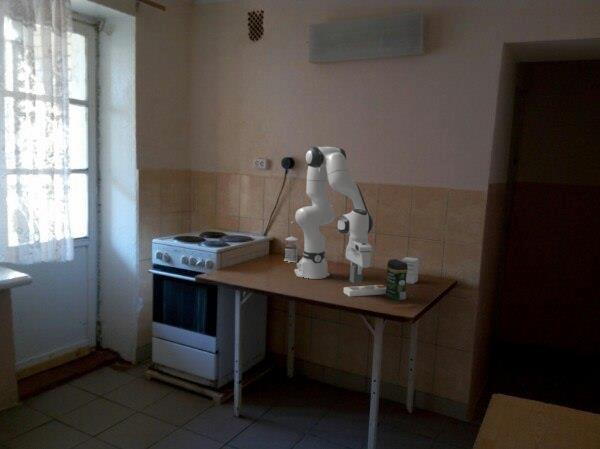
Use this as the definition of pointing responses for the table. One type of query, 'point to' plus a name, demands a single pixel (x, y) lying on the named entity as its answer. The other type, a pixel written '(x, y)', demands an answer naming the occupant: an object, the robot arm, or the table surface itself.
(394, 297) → the coffee jar
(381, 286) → the power strip
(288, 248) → the french press
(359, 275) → the block
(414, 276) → the supplement box
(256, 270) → the table surface
